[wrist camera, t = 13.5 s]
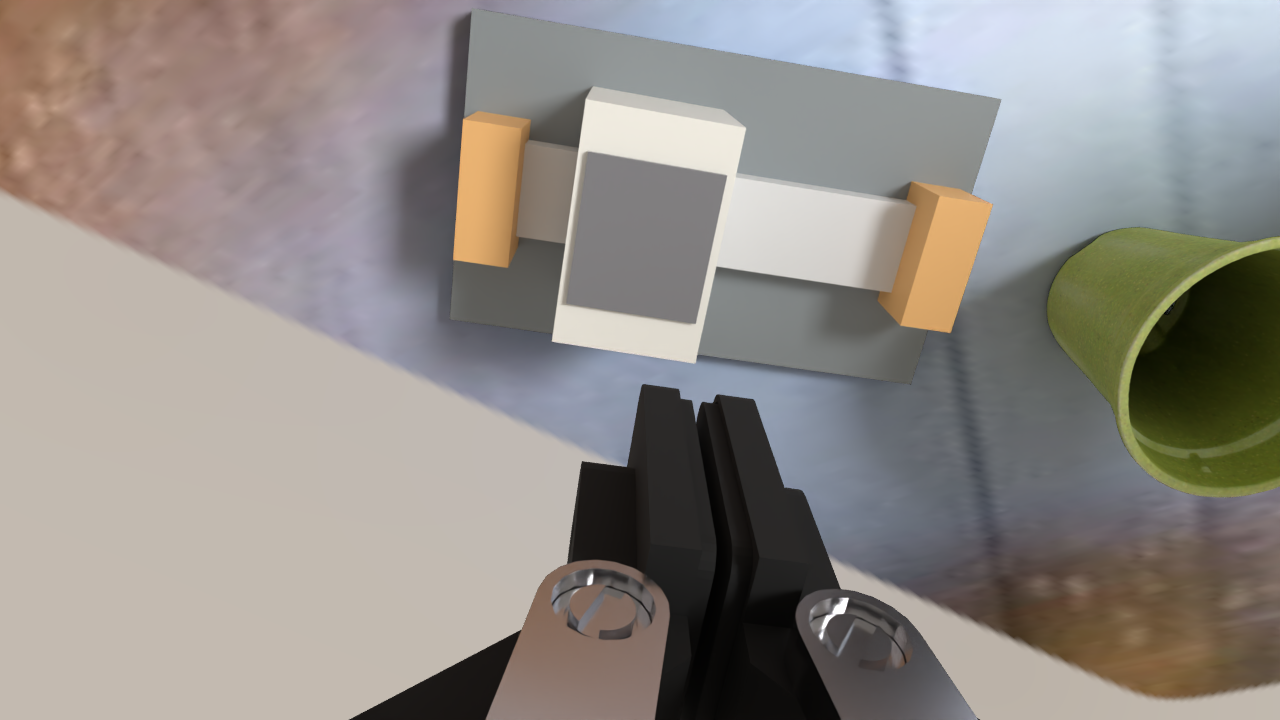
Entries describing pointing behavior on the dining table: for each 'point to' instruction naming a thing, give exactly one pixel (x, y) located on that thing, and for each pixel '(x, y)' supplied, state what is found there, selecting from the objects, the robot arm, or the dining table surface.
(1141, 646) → the dining table surface
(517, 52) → the rail board
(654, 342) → the block
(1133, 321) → the plant pot
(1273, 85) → the dining table surface
